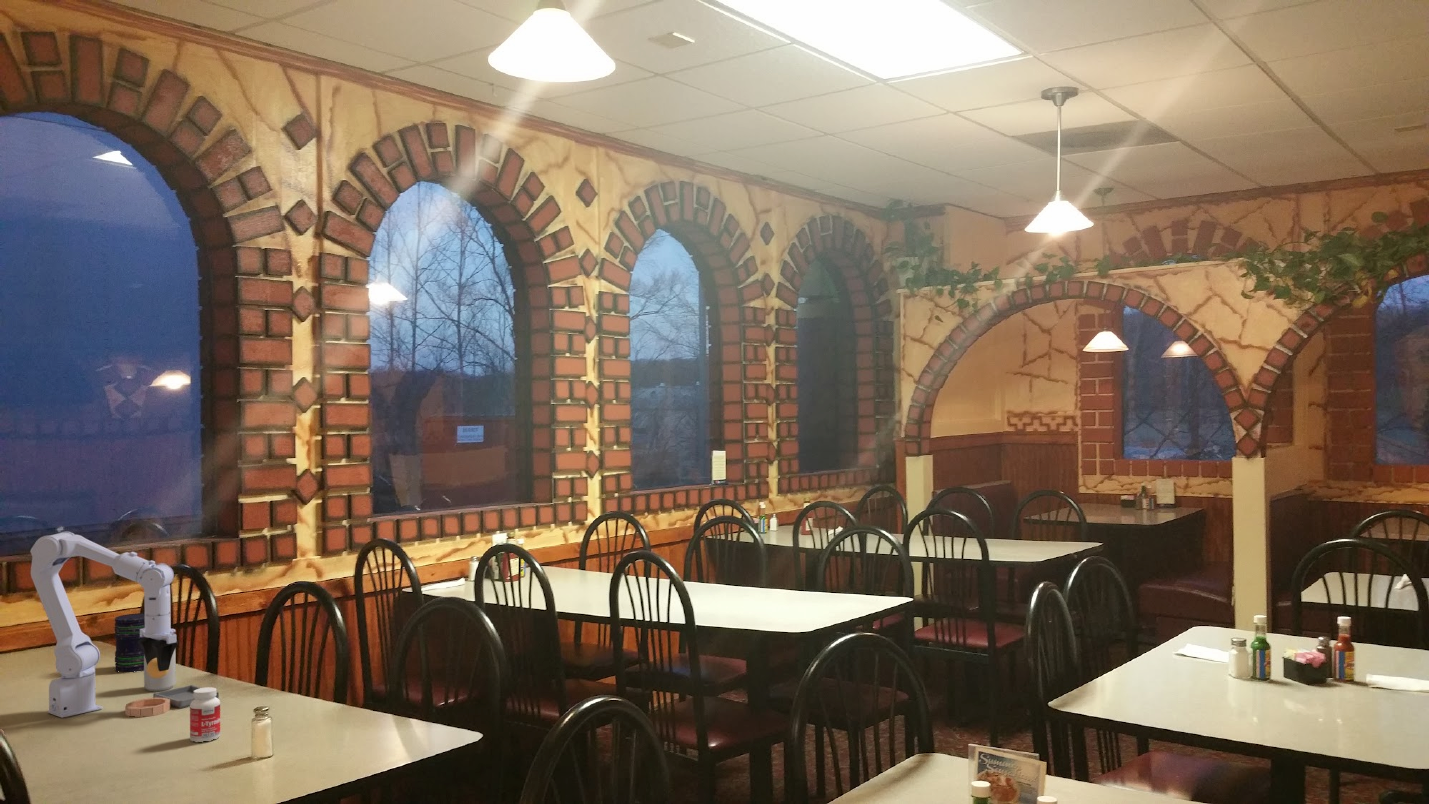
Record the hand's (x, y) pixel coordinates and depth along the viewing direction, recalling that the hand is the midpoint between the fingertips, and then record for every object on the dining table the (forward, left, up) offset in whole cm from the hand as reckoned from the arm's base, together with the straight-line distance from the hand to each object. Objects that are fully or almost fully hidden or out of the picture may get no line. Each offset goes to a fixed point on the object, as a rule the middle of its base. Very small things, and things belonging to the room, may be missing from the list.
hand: (158, 668), depth 266 cm
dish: (-3, 0, -10) cm, 10 cm away
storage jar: (+16, +46, -10) cm, 50 cm away
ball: (0, 0, 0) cm, 0 cm away
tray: (+8, +2, -10) cm, 13 cm away
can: (+10, +19, -10) cm, 23 cm away
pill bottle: (-6, -33, -10) cm, 35 cm away
